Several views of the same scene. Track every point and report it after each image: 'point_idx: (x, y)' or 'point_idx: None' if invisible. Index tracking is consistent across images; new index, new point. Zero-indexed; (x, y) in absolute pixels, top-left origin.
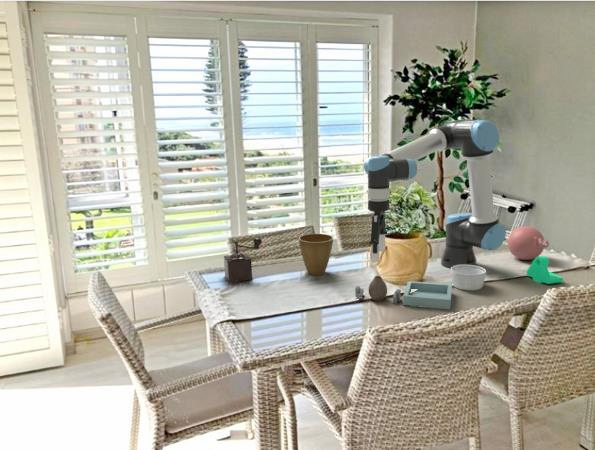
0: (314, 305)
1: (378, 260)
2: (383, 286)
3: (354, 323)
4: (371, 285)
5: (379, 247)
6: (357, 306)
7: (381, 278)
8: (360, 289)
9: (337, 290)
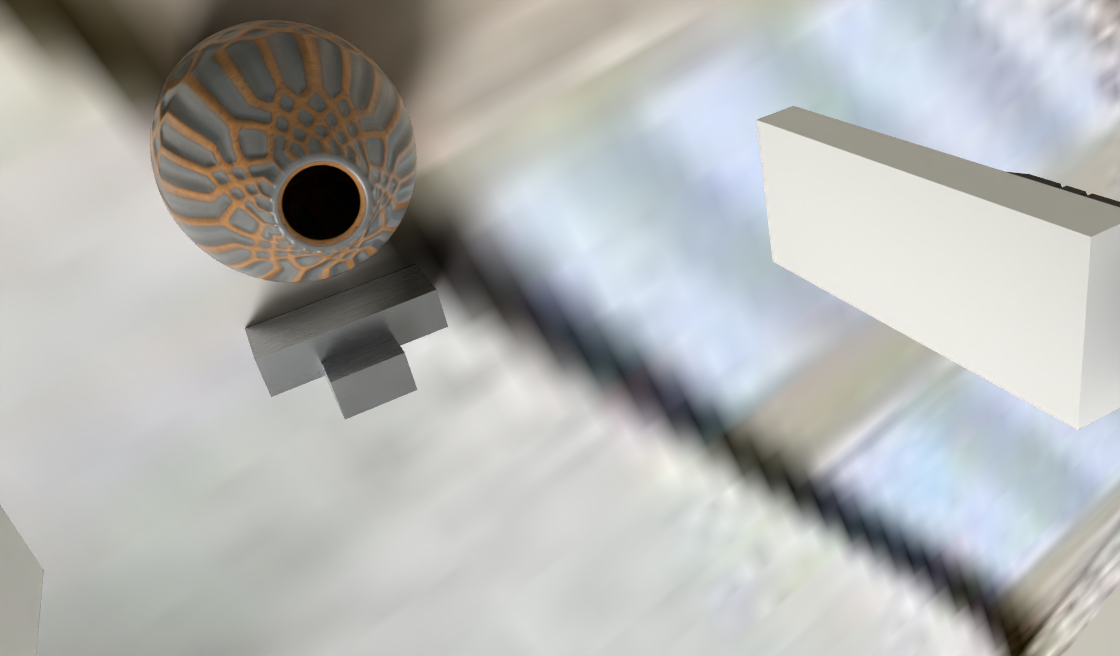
0: (691, 499)
1: (815, 123)
2: (337, 60)
3: (894, 30)
4: (400, 219)
5: (13, 599)
6: (567, 204)
7: (304, 142)
8: (301, 371)
9: (287, 596)
